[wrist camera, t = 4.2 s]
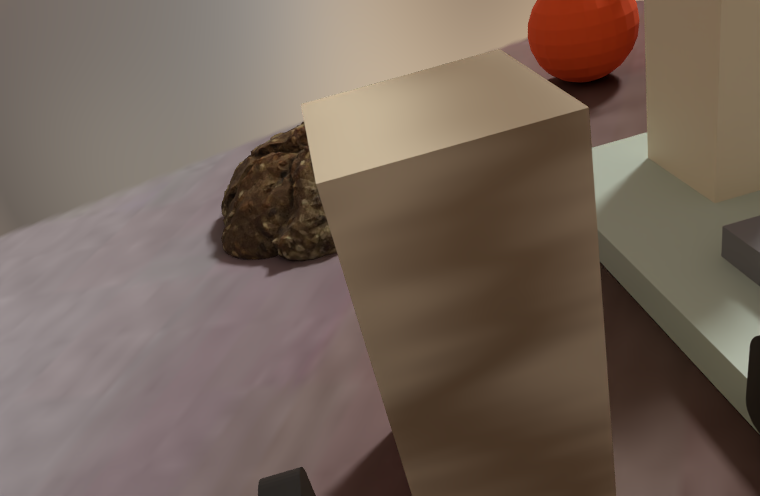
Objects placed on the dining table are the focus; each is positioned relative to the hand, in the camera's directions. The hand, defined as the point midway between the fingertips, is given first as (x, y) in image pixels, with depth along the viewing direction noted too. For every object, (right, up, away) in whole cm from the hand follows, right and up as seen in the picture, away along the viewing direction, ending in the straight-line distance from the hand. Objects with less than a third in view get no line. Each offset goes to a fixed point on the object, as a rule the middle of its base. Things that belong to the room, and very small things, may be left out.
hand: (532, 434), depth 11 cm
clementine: (+12, +14, +33) cm, 38 cm away
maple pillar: (+1, -3, +8) cm, 8 cm away
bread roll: (-5, +5, +26) cm, 27 cm away
